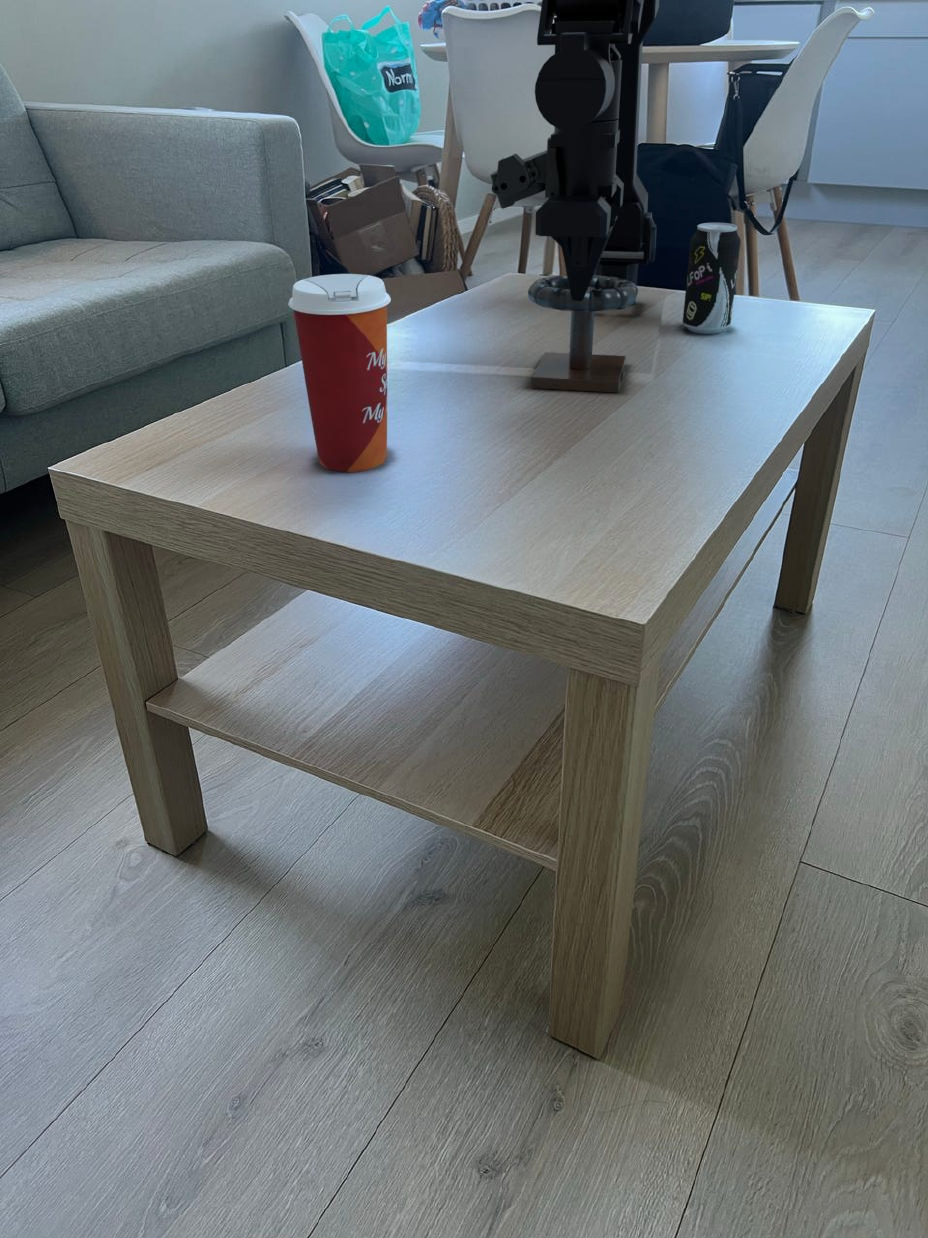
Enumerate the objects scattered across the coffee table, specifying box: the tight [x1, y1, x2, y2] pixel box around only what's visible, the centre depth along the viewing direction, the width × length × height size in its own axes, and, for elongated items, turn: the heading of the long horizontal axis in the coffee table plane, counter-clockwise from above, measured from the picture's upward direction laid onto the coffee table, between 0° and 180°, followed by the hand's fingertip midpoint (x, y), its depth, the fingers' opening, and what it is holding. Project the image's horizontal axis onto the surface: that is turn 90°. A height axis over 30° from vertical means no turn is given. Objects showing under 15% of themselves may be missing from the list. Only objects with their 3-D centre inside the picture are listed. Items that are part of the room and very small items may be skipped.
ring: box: [527, 274, 639, 312], centre depth 98 cm, size 11×11×2 cm
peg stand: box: [531, 287, 627, 394], centre depth 100 cm, size 9×9×9 cm
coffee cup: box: [288, 273, 392, 473], centre depth 81 cm, size 8×8×15 cm
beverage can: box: [682, 222, 742, 335], centre depth 115 cm, size 6×6×12 cm
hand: (578, 297), depth 94 cm, fingers closed on ring, 2 cm apart
